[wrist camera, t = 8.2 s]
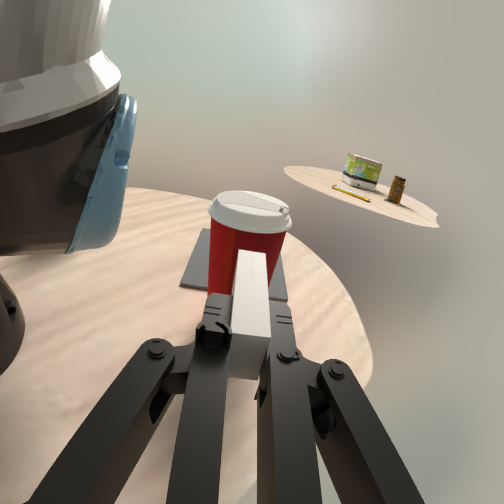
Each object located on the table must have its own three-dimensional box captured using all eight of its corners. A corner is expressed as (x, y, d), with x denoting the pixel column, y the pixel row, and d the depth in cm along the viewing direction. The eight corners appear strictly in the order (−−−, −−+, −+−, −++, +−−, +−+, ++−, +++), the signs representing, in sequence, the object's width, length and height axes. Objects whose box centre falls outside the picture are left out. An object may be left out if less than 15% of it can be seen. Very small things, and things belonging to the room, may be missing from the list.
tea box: (349, 185, 122) (356, 155, 115) (340, 180, 131) (347, 152, 124) (375, 192, 125) (383, 163, 118) (365, 186, 133) (373, 159, 127)
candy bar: (329, 188, 108) (330, 184, 107) (333, 188, 111) (334, 183, 110) (367, 203, 99) (368, 199, 99) (370, 202, 102) (371, 198, 102)
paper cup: (272, 312, 34) (301, 202, 27) (252, 354, 27) (285, 226, 21) (214, 291, 36) (228, 183, 29) (184, 327, 29) (192, 201, 22)
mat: (287, 301, 36) (288, 299, 36) (180, 285, 35) (180, 282, 35) (277, 241, 52) (278, 239, 52) (202, 230, 51) (202, 228, 51)
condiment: (400, 204, 114) (408, 179, 109) (398, 206, 108) (406, 180, 102) (387, 198, 118) (394, 174, 112) (383, 200, 112) (391, 174, 106)
